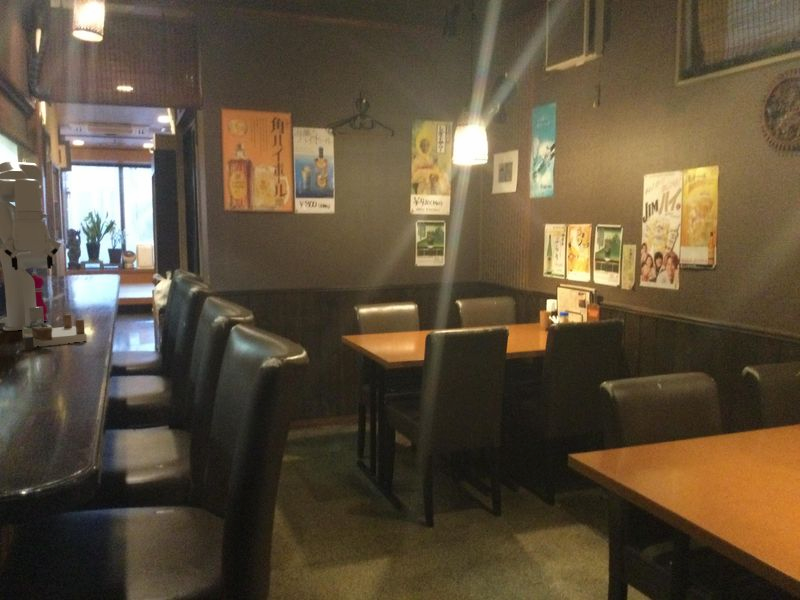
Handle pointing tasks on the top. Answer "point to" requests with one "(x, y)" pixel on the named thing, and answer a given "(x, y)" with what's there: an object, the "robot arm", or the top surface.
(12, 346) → the top surface
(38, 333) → the hinged leg
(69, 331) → the seat board
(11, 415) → the top surface
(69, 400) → the top surface
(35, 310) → the leg peg
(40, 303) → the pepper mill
